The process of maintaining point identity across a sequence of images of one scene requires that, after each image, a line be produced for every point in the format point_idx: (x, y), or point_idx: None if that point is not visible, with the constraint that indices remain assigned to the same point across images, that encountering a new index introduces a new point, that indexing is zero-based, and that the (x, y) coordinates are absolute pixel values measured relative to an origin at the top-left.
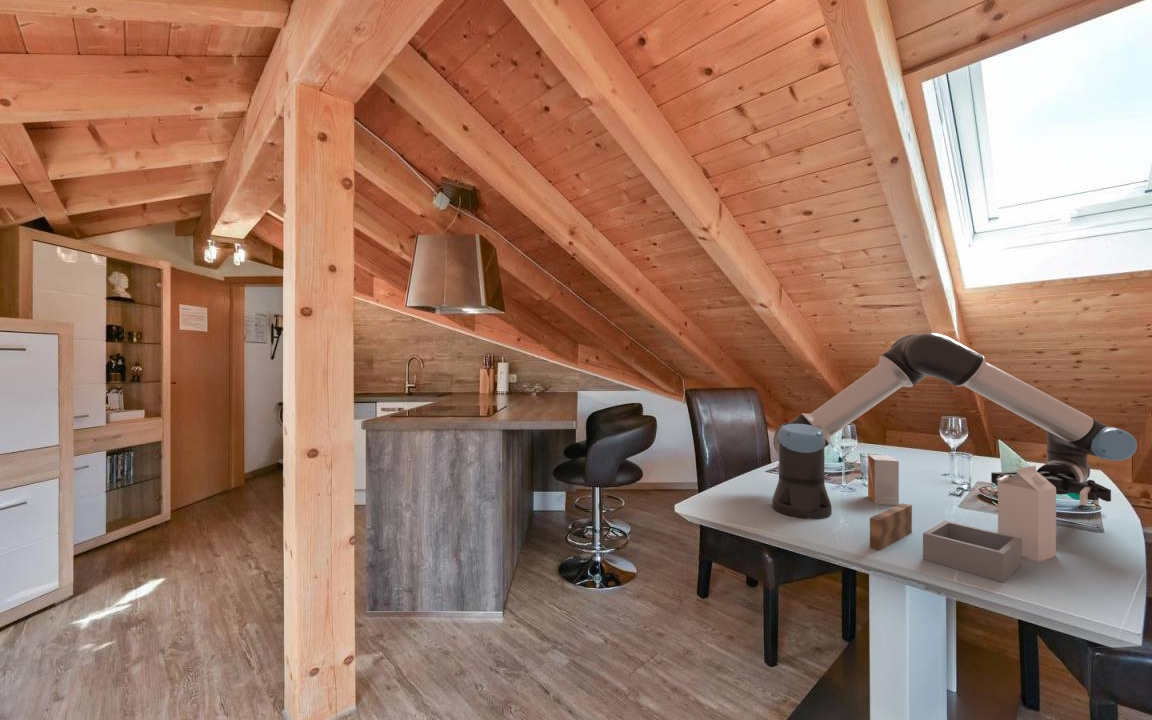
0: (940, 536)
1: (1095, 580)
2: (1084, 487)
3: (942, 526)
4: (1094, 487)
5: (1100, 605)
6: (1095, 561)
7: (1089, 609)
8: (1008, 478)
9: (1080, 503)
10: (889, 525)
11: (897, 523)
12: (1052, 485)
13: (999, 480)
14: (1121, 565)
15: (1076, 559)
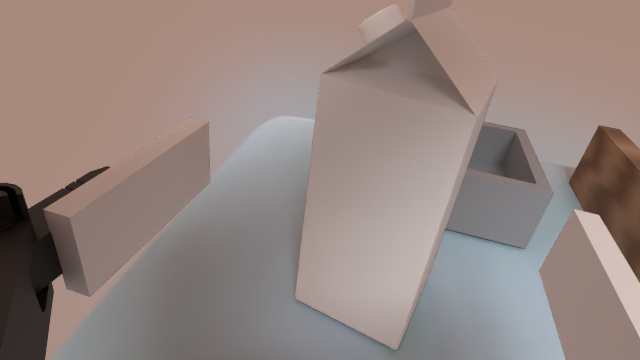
0: (497, 127)
1: (252, 205)
2: (22, 286)
3: (528, 162)
4: (13, 201)
5: (281, 141)
6: (188, 323)
7: (298, 132)
8: (472, 42)
9: (207, 177)
10: (605, 165)
11: (619, 193)
12: (334, 65)
13: (584, 217)
14: (119, 325)
15: (240, 312)
